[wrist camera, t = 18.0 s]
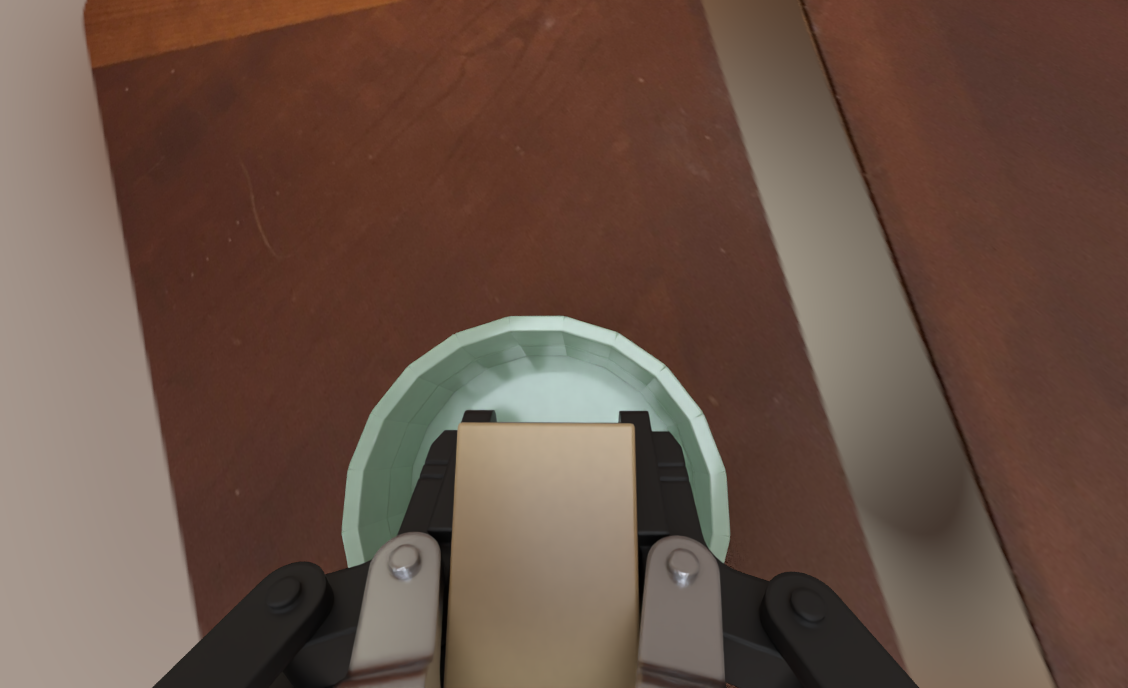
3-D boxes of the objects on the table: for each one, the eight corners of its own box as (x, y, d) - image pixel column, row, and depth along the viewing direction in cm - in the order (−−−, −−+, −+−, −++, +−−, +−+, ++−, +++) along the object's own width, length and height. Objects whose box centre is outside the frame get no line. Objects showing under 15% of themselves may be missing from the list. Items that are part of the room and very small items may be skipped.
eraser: (625, 583, 15) (667, 728, 7) (501, 581, 15) (415, 719, 8) (622, 425, 16) (657, 406, 8) (506, 424, 16) (435, 405, 9)
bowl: (443, 692, 20) (389, 783, 15) (375, 395, 23) (310, 378, 17) (739, 593, 20) (793, 646, 15) (635, 311, 23) (649, 270, 18)
